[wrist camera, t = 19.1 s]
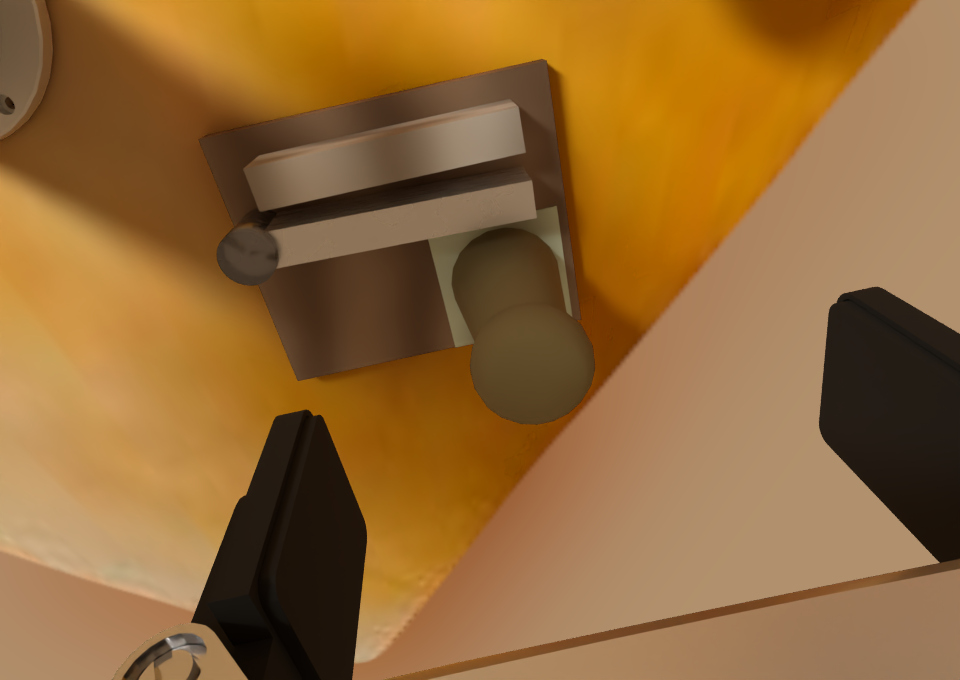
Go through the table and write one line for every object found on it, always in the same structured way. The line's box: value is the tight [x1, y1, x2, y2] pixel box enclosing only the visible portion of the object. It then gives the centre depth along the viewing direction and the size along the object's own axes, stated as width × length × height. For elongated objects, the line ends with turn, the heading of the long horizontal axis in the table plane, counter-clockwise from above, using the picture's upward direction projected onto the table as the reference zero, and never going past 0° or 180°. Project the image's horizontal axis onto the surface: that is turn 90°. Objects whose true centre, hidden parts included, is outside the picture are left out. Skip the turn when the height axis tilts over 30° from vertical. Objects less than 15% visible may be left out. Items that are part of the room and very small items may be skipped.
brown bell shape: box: [451, 228, 595, 425], centre depth 29 cm, size 6×6×11 cm
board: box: [198, 59, 581, 381], centre depth 31 cm, size 17×14×4 cm
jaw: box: [217, 165, 537, 285], centre depth 29 cm, size 15×3×4 cm, turn 100°
